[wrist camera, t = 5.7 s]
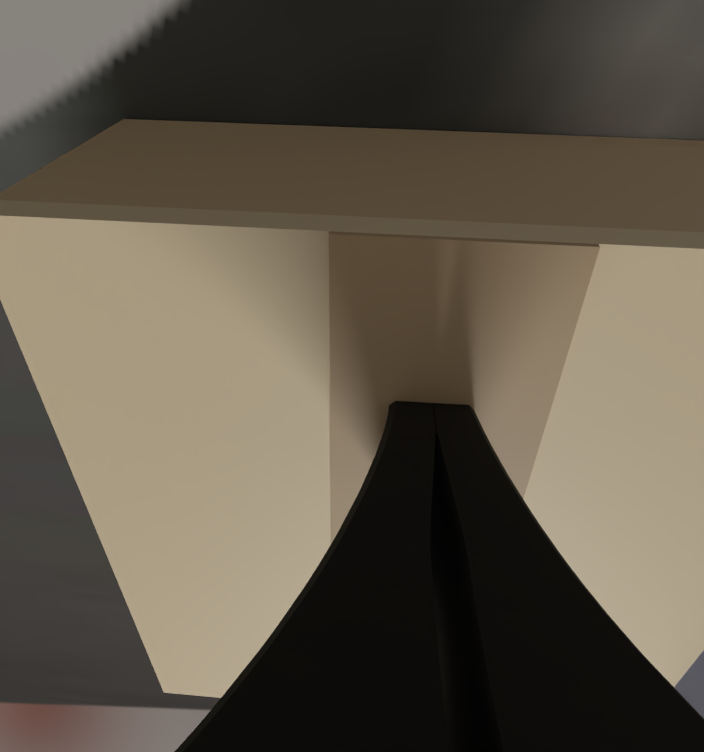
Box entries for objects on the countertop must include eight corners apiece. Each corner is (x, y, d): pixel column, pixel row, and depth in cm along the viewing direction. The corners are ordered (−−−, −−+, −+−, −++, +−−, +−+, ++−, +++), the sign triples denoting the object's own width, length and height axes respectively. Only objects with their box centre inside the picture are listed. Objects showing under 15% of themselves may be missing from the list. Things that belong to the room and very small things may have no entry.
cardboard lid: (974, 244, 8) (1018, 267, 7) (628, 714, 17) (635, 740, 16) (-10, 199, 8) (-40, 216, 8) (170, 672, 17) (162, 696, 17)
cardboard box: (781, 143, 12) (975, 244, 8) (585, 566, 21) (627, 712, 17) (123, 118, 12) (-12, 199, 8) (215, 537, 21) (171, 670, 18)
